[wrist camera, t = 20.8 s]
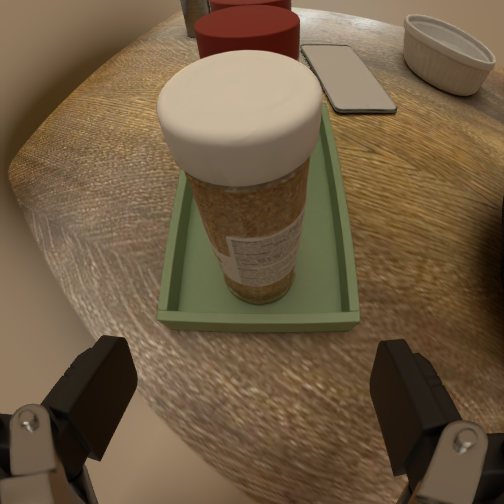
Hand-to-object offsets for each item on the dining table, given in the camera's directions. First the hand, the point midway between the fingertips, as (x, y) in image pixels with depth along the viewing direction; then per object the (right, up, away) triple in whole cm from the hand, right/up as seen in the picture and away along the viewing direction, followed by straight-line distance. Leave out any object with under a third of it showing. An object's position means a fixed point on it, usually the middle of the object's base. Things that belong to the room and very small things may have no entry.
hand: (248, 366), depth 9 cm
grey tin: (-8, +37, +28) cm, 47 cm away
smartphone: (+10, +23, +20) cm, 33 cm away
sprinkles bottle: (+1, +2, +10) cm, 11 cm away
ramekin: (+26, +28, +22) cm, 44 cm away
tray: (+1, +7, +13) cm, 15 cm away
